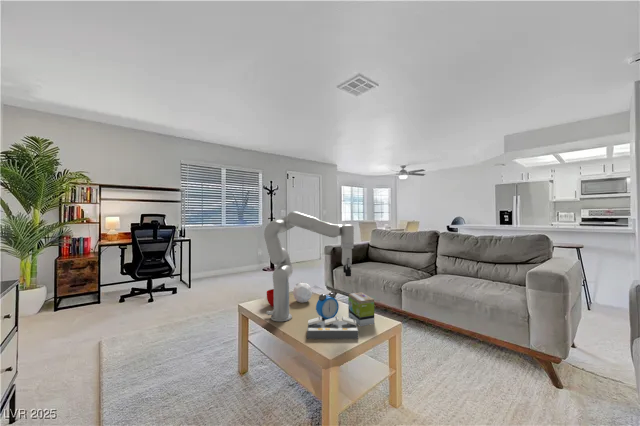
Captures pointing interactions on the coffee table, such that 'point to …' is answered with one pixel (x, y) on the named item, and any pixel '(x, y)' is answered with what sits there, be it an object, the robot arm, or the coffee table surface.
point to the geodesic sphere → (302, 292)
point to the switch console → (332, 331)
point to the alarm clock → (327, 306)
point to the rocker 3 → (349, 320)
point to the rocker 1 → (314, 320)
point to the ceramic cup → (270, 297)
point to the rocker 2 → (331, 320)
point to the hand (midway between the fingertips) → (347, 274)
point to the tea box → (361, 308)
